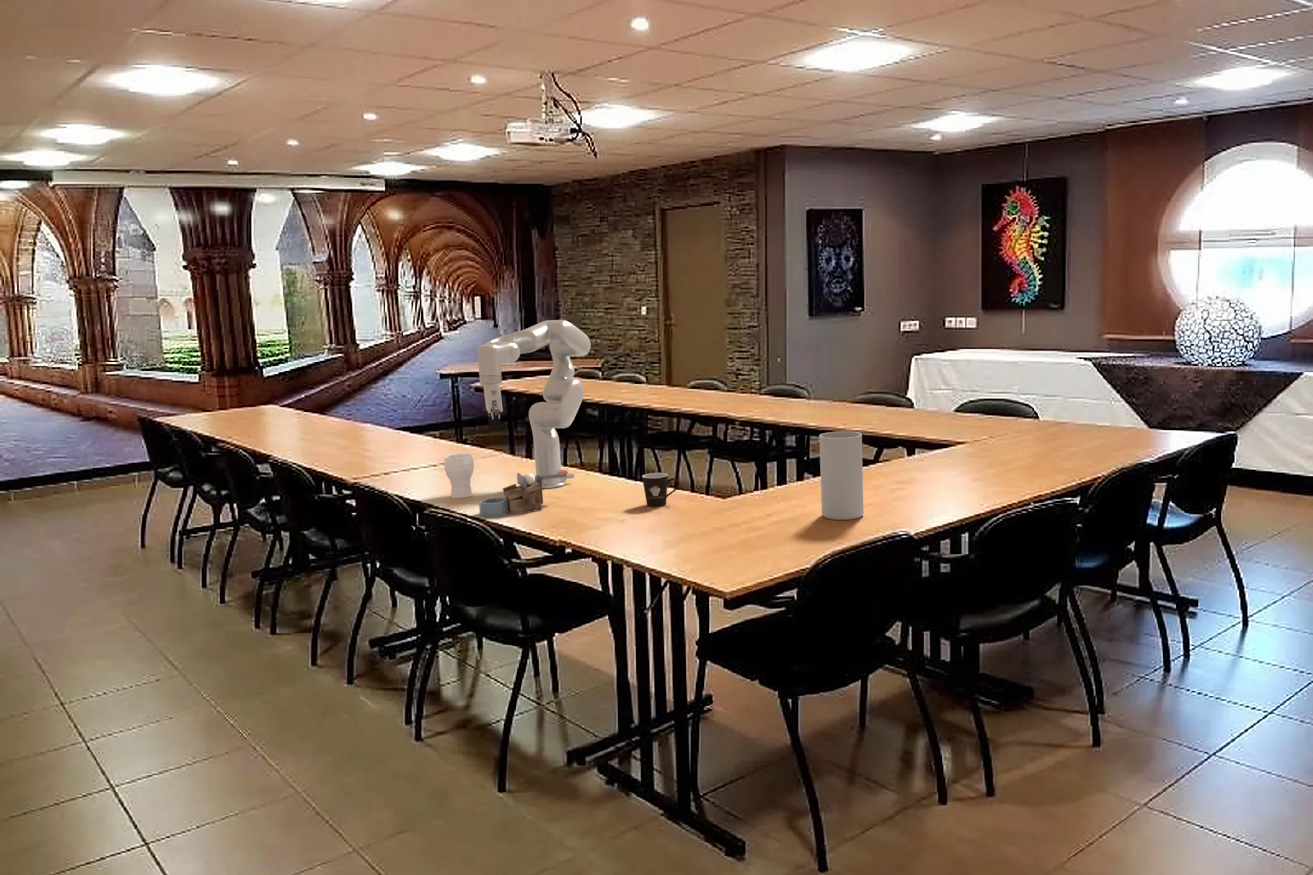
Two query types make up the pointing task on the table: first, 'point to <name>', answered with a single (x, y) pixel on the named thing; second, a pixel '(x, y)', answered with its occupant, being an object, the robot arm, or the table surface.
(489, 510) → the pot
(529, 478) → the ball
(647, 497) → the coffee mug
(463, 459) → the cup
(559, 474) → the lever
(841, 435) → the cylinder vase
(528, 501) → the cardboard box
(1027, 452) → the table surface
